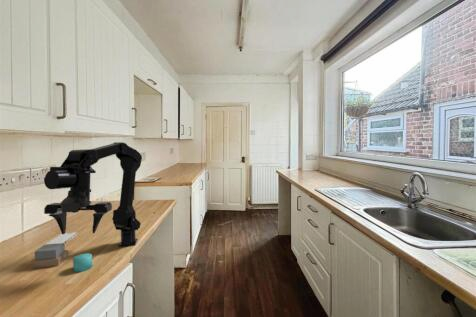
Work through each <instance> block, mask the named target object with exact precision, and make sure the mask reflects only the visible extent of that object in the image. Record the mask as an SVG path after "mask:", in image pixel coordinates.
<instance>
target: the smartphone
mask: <svg viewBox="0 0 476 317" xmlns="http://www.w3.org/2000/svg"><path fill="white" fill-rule="evenodd" d="M77 234H79V233H78V231H77V232H76V231H75V232H74V231H73V232H65V234H62V233H60V234H58V235H57V236H55V237H54V238H53V239H51V240H49V241H48V242H46V243H45V244H44V245H46V244H58V243H64V244H66V243H67V242H69V241H70V240H72V239H73V238H75V237H76V236H78V235H77ZM74 236H75V237H74ZM71 238H72V239H71ZM68 240H69V241H68ZM65 242H66V243H65Z"/></svg>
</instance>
